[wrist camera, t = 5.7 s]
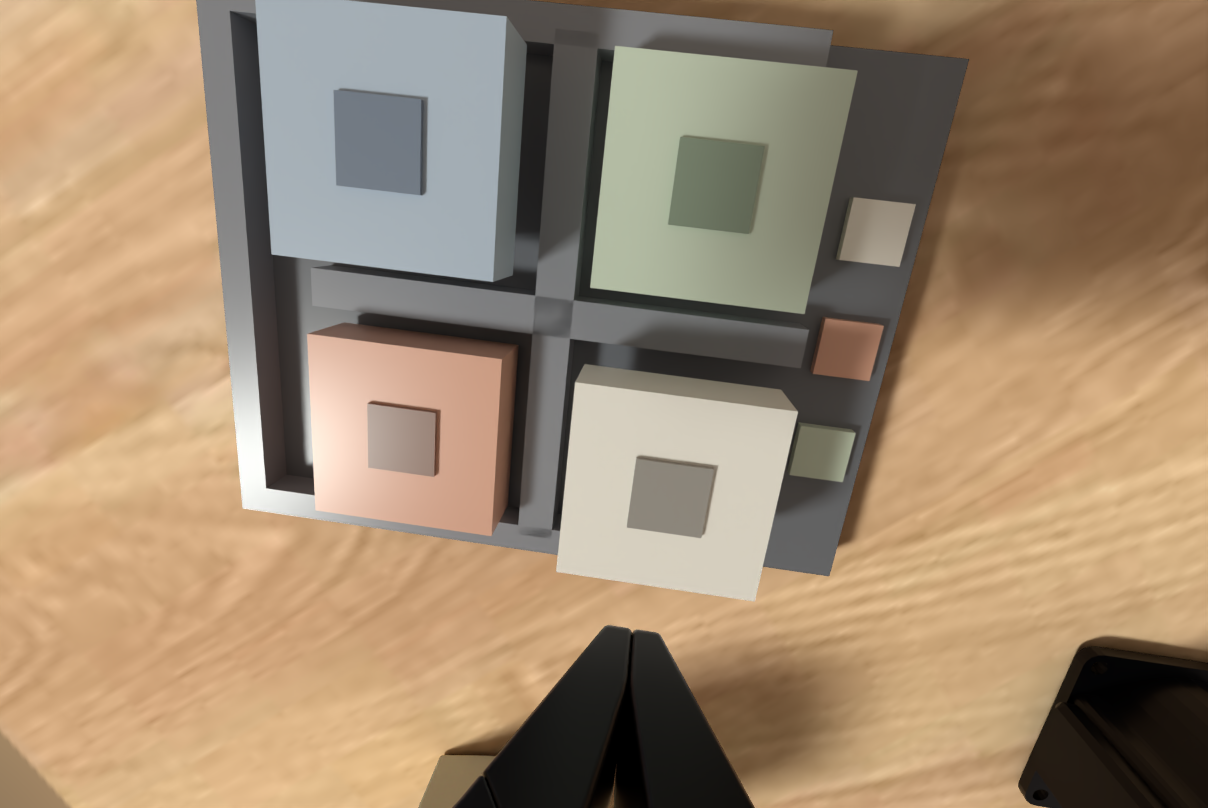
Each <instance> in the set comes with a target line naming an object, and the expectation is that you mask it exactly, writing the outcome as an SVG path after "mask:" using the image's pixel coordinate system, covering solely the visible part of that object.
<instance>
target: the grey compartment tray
mask: <svg viewBox="0 0 1208 808" xmlns="http://www.w3.org/2000/svg"><path fill="white" fill-rule="evenodd" d="M349 1H359V2H369V3H379V4H389V5H399V6H409V7H419V8H429V9H439V10H449V11H459V12H469V13H479V14H488V15H498V16H507V18H508V19H509V20H510V22H511V23H512V25H513V26H514V27H515V29H516V30H517V32H518V33H519V34H520V36H521V37H522V39H523V40H524V41H525V43H526V44H527V54H526V70H525V86H524V102H523V118H522V135H521V151H520V167H519V183H518V199H517V216H516V232H515V248H514V264H513V275H512V276H509V277H506V278H503V279H500V280H497V281H494V282H490V281H481V280H473V279H465V278H457V277H449V276H441V275H433V274H425V273H417V272H409V271H401V270H393V269H385V268H377V267H369V266H361V265H353V264H345V263H336V262H328V261H320V260H312V259H304V258H296V257H288V256H280V255H272V254H271V238H270V223H269V207H268V192H267V176H266V160H265V145H264V129H263V114H262V98H261V83H260V67H259V51H258V36H257V20H256V5H255V0H196V2H197V13H198V24H199V35H200V46H201V57H202V68H203V79H204V90H205V101H206V112H207V123H208V134H209V145H210V156H211V166H212V177H213V188H214V199H215V210H216V221H217V232H218V243H219V254H220V265H221V276H222V287H223V298H224V309H225V320H226V331H227V342H228V353H229V364H230V375H231V386H232V397H233V408H234V419H235V430H236V440H237V451H238V462H239V473H240V484H241V495H242V506H243V508H244V509H250V510H257V511H264V512H271V513H278V514H284V515H291V516H298V517H305V518H311V519H318V520H325V521H332V522H338V523H345V524H352V525H359V526H366V527H372V528H379V529H386V530H393V531H399V532H406V533H413V534H420V535H427V536H433V537H440V538H447V539H454V540H460V541H467V542H474V543H481V544H488V545H494V546H501V547H508V548H515V549H521V550H528V551H535V552H542V553H549V554H555V555H558V549H559V539H560V529H561V519H562V509H563V499H564V489H565V479H566V469H567V459H568V449H569V439H570V429H571V419H572V409H573V399H574V389H575V382H576V380H577V378H578V376H579V374H580V372H581V370H582V368H583V366H584V364H588V365H596V366H604V367H611V368H619V369H627V370H634V371H642V372H650V373H657V374H665V375H673V376H680V377H688V378H696V379H703V380H711V381H719V382H726V383H734V384H742V385H750V386H757V387H765V388H773V389H780V390H782V391H783V393H784V394H785V395H786V397H787V398H788V399H789V401H790V402H791V403H792V404H793V406H794V407H795V408H796V410H797V411H798V414H797V418H796V423H795V427H794V431H793V436H792V440H791V445H790V449H789V453H788V458H787V462H786V467H785V471H784V475H783V480H782V484H781V489H780V493H779V497H778V502H777V506H776V510H775V515H774V519H773V524H772V528H771V532H770V537H769V541H768V546H767V550H766V554H765V559H764V563H763V567H769V568H776V569H783V570H790V571H797V572H803V573H810V574H817V575H824V576H829V575H830V571H831V568H832V564H833V560H834V557H835V553H836V549H837V546H838V542H839V538H840V534H841V531H842V527H843V523H844V520H845V516H846V512H847V509H848V505H849V501H850V498H851V494H852V490H853V486H854V483H855V479H856V475H857V472H858V468H859V464H860V461H861V457H862V453H863V449H864V446H865V442H866V438H867V435H868V431H869V427H870V424H871V420H872V416H873V412H874V409H875V405H876V401H877V398H878V394H879V390H880V387H881V383H882V379H883V376H884V372H885V368H886V364H887V361H888V357H889V353H890V350H891V346H892V342H893V339H894V335H895V331H896V327H897V324H898V320H899V316H900V313H901V309H902V305H903V302H904V298H905V294H906V291H907V287H908V283H909V279H910V276H911V272H912V268H913V265H914V261H915V257H916V254H917V250H918V246H919V242H920V239H921V235H922V231H923V228H924V224H925V220H926V217H927V213H928V209H929V206H930V202H931V198H932V194H933V191H934V187H935V183H936V180H937V176H938V172H939V169H940V165H941V161H942V157H943V154H944V150H945V146H946V143H947V139H948V135H949V132H950V128H951V124H952V120H953V117H954V113H955V109H956V106H957V102H958V98H959V95H960V91H961V87H962V84H963V80H964V76H965V72H966V69H967V65H968V61H969V59H963V58H953V57H943V56H933V55H923V54H913V53H903V52H893V51H883V50H873V49H863V48H853V47H843V46H833V45H831V40H832V35H833V30H825V29H815V28H805V27H795V26H784V25H774V24H764V23H754V22H744V21H734V20H724V19H714V18H703V17H693V16H683V15H673V14H663V13H653V12H643V11H633V10H622V9H612V8H602V7H592V6H582V5H572V4H562V3H552V2H541V1H531V0H349ZM615 46H622V47H632V48H642V49H651V50H661V51H671V52H681V53H691V54H700V55H710V56H720V57H730V58H740V59H750V60H759V61H769V62H779V63H789V64H799V65H808V66H818V67H828V68H838V69H848V70H857V71H858V72H857V77H856V81H855V86H854V90H853V95H852V100H851V104H850V109H849V113H848V118H847V122H846V127H845V131H844V136H843V141H842V145H841V150H840V154H839V159H838V163H837V168H836V172H835V177H834V182H833V186H832V191H831V195H830V200H829V204H828V209H827V214H826V218H825V223H824V227H823V232H822V236H821V241H820V245H819V250H818V255H817V259H816V264H815V268H814V273H813V277H812V282H811V286H810V291H809V296H808V300H807V305H806V309H805V314H799V313H791V312H783V311H775V310H767V309H759V308H751V307H743V306H735V305H727V304H718V303H710V302H702V301H694V300H686V299H678V298H670V297H662V296H654V295H646V294H638V293H629V292H621V291H613V290H605V289H597V288H590V284H591V274H592V265H593V255H594V245H595V236H596V226H597V216H598V206H599V197H600V187H601V177H602V168H603V158H604V148H605V138H606V129H607V119H608V109H609V100H610V90H611V80H612V71H613V61H614V51H615ZM344 322H345V323H353V324H361V325H368V326H376V327H384V328H392V329H399V330H407V331H415V332H422V333H430V334H438V335H446V336H453V337H461V338H469V339H477V340H484V341H492V342H500V343H507V344H515V345H519V346H518V360H517V375H516V390H515V405H514V420H513V435H512V450H511V465H510V479H509V494H508V506H507V508H506V510H505V512H504V514H503V516H502V517H501V519H500V521H499V523H498V525H497V527H496V529H495V531H494V532H493V534H492V536H486V535H480V534H473V533H466V532H459V531H452V530H446V529H439V528H432V527H425V526H418V525H412V524H405V523H398V522H391V521H384V520H377V519H371V518H364V517H357V516H350V515H343V514H337V513H330V512H323V511H316V510H315V491H314V470H313V449H312V428H311V407H310V386H309V365H308V344H307V334H308V333H311V332H314V331H318V330H321V329H324V328H327V327H331V326H334V325H337V324H341V323H344Z"/></svg>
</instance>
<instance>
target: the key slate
mask: <svg viewBox="0 0 1208 808" xmlns="http://www.w3.org/2000/svg"><path fill="white" fill-rule="evenodd" d="M255 5H256V20H257V36H258V51H259V67H260V83H261V98H262V114H263V129H264V145H265V160H266V176H267V192H268V207H269V223H270V238H271V254H272V255H280V256H288V257H296V258H304V259H312V260H320V261H328V262H336V263H345V264H353V265H361V266H369V267H377V268H385V269H393V270H401V271H409V272H417V273H425V274H433V275H441V276H449V277H457V278H465V279H473V280H481V281H490V282H494V281H497V280H500V279H503V278H506V277H509V276H512V275H513V264H514V248H515V232H516V216H517V199H518V183H519V167H520V151H521V135H522V118H523V102H524V86H525V70H526V54H527V44H526V43H525V41H524V40H523V39H522V37H521V36H520V34H519V33H518V32H517V30H516V29H515V27H514V26H513V25H512V23H511V22H510V20H509V19H508V18H507V16H498V15H488V14H479V13H469V12H459V11H449V10H439V9H429V8H419V7H409V6H399V5H389V4H379V3H369V2H359V1H349V0H255Z"/></svg>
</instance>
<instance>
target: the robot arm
mask: <svg viewBox="0 0 1208 808" xmlns="http://www.w3.org/2000/svg"><path fill="white" fill-rule="evenodd" d="M1096 662H1097V663H1096ZM1094 663H1096V664H1094ZM1093 664H1094V665H1093ZM616 764H617V765H616ZM615 771H616V774H615ZM614 778H615V787H614V808H755V807H754V805H753V804H752V802H751V800H750V798H749V796H748V794H747V793H746V791H745V789H744V787H743V785H742V783H741V782H740V780H739V778H738V776H737V774H736V772H735V771H734V769H733V767H732V765H731V763H730V761H729V760H728V758H727V756H726V754H725V752H724V751H723V749H722V747H721V745H720V743H719V741H718V740H717V738H716V736H715V734H714V732H713V730H712V729H711V727H710V725H709V723H708V721H707V719H706V718H705V716H704V714H703V712H702V710H701V708H700V707H699V705H698V703H697V701H696V699H695V698H694V696H693V694H692V692H691V690H690V688H689V687H688V685H687V683H686V681H685V679H684V677H683V676H682V674H681V672H680V670H679V668H678V666H677V665H676V663H675V661H674V659H673V657H672V655H671V654H670V652H669V650H668V648H667V646H666V645H665V643H664V641H663V639H662V637H661V636H660V635H659V634H658V633H656V632H649V631H643V630H634V631H633V633H632V632H631V630H630V629H629V628H624V627H617V626H611V625H607V626H605V627H604V628H603V629H602V630H601V631H600V632H599V634H598V635H597V636H596V637H595V638H594V640H593V641H592V642H591V643H590V644H589V646H588V647H587V648H586V649H585V650H584V651H583V653H582V654H581V655H580V656H579V657H578V659H577V660H576V661H575V662H574V663H573V665H572V666H571V667H570V668H569V669H568V671H567V672H566V673H565V674H564V675H563V677H562V678H561V679H560V680H559V681H558V683H557V684H556V685H555V686H554V687H553V689H552V690H551V691H550V692H549V693H548V695H547V696H546V697H545V698H544V699H543V700H542V702H541V703H540V704H539V705H538V706H537V708H536V709H535V710H534V711H533V712H532V714H531V715H530V716H529V717H528V718H527V720H526V721H525V722H524V723H523V724H522V726H521V727H520V728H519V729H518V730H517V732H516V733H515V734H514V735H513V736H512V738H511V739H510V740H509V741H508V742H507V743H506V745H505V746H504V747H503V748H502V749H501V751H500V752H499V753H498V754H497V755H496V757H495V758H494V759H493V760H492V761H491V763H490V764H489V765H488V766H487V767H486V769H485V770H484V771H483V774H482V776H479V777H478V778H477V779H476V780H475V781H474V782H473V784H472V785H471V786H470V787H469V788H468V790H467V791H466V792H465V793H464V794H463V796H462V797H461V798H460V799H459V800H458V801H457V803H456V804H455V805H454V806H453V807H452V808H609V807H610V802H611V797H612V792H613V786H614ZM1018 787H1019V789H1020V791H1021V793H1022V794H1023V796H1024V797H1025V799H1026V801H1028V802H1029V803H1030V804H1033V805H1036V806H1042V807H1048V808H1208V663H1204V662H1197V661H1190V660H1183V659H1177V658H1170V657H1163V656H1156V655H1150V654H1143V653H1136V652H1130V651H1123V650H1116V649H1109V648H1103V647H1087V648H1083V649H1082V650H1080V651H1079V652H1078V653H1077V654H1076V656H1075V657H1074V659H1073V662H1072V664H1071V666H1070V668H1069V671H1068V673H1067V675H1066V677H1065V680H1064V682H1063V684H1062V686H1061V689H1060V691H1059V693H1058V695H1057V697H1056V700H1055V702H1054V704H1053V706H1052V709H1051V711H1050V713H1049V715H1048V718H1047V720H1046V722H1045V724H1044V727H1043V729H1042V731H1041V733H1040V736H1039V738H1038V740H1037V742H1036V745H1035V747H1034V749H1033V751H1032V754H1031V756H1030V758H1029V760H1028V763H1027V765H1026V767H1025V769H1024V771H1023V774H1022V776H1021V778H1020V780H1019V784H1018Z"/></svg>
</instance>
